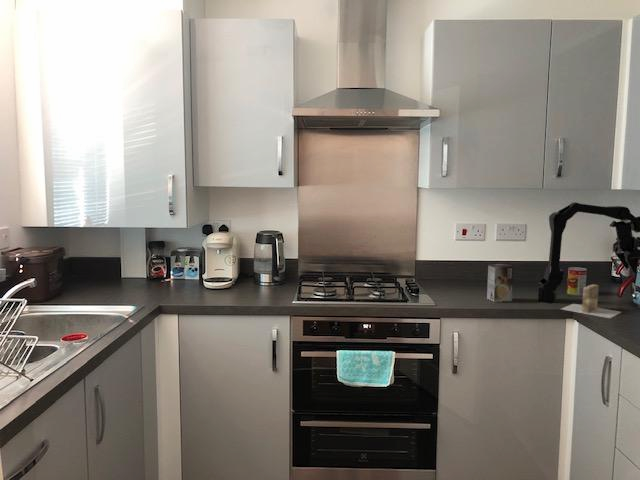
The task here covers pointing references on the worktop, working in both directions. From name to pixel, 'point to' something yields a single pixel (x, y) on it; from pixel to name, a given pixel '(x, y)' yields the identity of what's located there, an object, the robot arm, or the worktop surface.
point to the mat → (595, 312)
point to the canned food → (576, 280)
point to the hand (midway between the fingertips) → (631, 270)
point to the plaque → (590, 298)
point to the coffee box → (500, 282)
